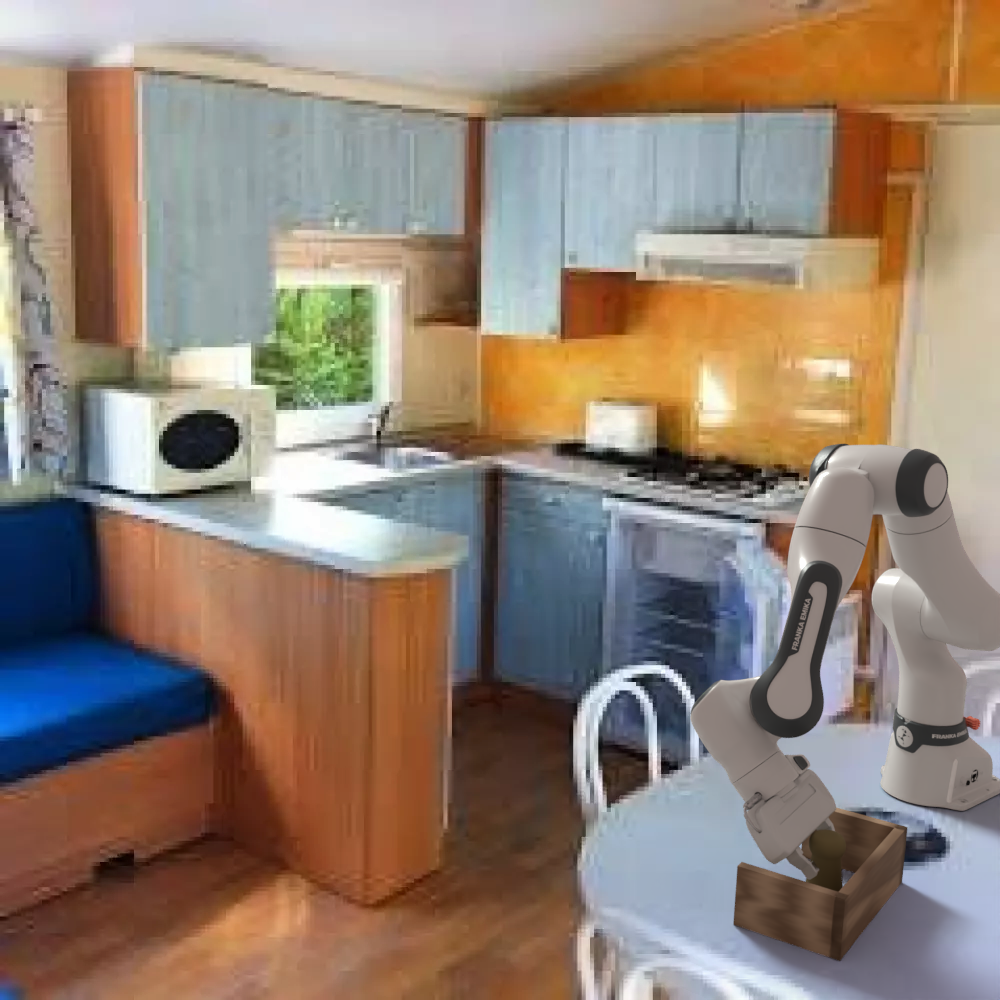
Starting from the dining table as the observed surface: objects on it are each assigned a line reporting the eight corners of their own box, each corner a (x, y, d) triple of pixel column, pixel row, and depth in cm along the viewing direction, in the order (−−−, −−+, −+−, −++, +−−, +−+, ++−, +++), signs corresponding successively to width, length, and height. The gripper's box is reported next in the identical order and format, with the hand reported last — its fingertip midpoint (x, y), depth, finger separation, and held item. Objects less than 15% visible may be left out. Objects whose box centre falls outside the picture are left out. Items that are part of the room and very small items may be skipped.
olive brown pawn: (844, 916, 184) (851, 845, 182) (801, 911, 186) (807, 840, 183) (842, 895, 190) (848, 826, 188) (800, 890, 191) (806, 822, 189)
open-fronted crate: (733, 924, 181) (737, 865, 180) (804, 852, 203) (808, 799, 201) (840, 961, 173) (845, 899, 171) (902, 882, 195) (907, 827, 193)
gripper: (754, 796, 180) (816, 882, 176) (808, 751, 196) (866, 828, 193) (723, 817, 183) (783, 901, 180) (779, 771, 200) (835, 847, 196)
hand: (826, 863), depth 187 cm, fingers open, 8 cm apart
